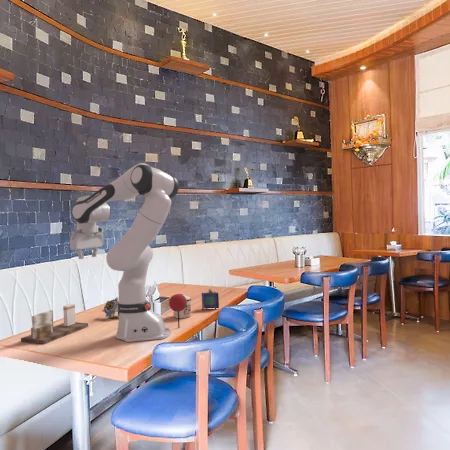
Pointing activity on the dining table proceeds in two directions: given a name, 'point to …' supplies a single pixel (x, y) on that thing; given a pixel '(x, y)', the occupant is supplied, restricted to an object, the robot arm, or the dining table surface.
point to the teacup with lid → (186, 311)
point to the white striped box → (69, 314)
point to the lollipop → (177, 303)
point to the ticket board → (56, 330)
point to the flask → (210, 299)
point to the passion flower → (111, 308)
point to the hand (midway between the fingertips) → (87, 257)
